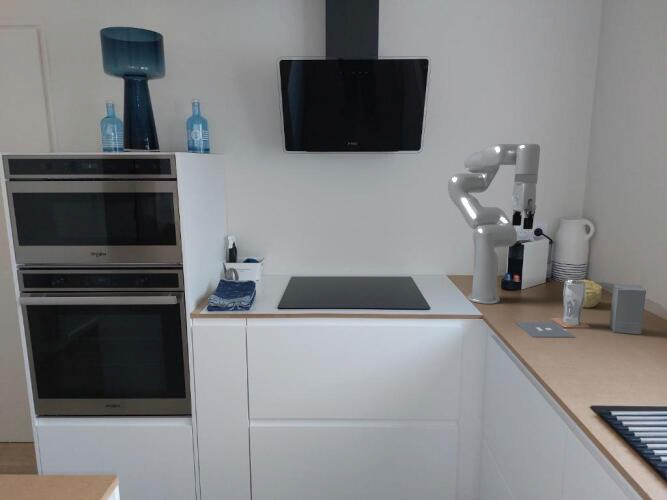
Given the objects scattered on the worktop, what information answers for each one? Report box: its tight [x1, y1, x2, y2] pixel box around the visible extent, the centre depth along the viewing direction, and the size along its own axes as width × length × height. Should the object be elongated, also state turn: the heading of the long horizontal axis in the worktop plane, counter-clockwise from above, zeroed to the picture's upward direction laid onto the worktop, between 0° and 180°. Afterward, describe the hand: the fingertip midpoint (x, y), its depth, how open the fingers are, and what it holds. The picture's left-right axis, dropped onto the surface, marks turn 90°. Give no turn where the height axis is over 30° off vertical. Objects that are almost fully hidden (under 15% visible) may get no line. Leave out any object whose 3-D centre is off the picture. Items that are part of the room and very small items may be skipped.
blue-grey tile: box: [515, 321, 576, 338], centre depth 154 cm, size 14×14×1 cm
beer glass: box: [561, 279, 586, 326], centre depth 158 cm, size 7×7×15 cm
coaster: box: [550, 317, 590, 329], centre depth 160 cm, size 9×9×1 cm
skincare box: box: [609, 283, 647, 335], centre depth 152 cm, size 8×7×16 cm
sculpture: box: [579, 279, 603, 309], centre depth 181 cm, size 12×12×11 cm
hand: (521, 227), depth 163 cm, fingers open, 9 cm apart
